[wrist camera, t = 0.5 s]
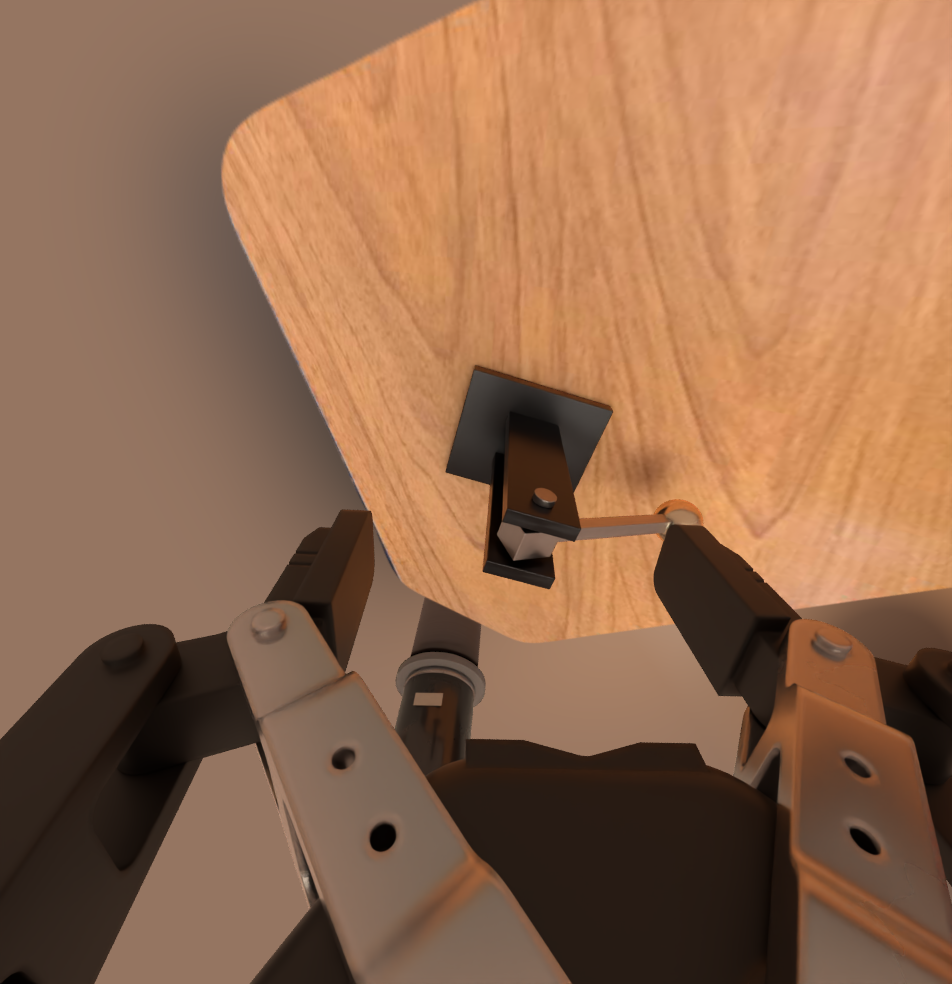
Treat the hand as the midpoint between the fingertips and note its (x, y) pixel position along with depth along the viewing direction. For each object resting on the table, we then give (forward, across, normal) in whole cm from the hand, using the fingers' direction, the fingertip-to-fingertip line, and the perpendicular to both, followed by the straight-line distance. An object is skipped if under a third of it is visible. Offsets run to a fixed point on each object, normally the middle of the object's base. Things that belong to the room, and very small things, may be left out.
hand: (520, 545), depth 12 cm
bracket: (+27, +4, -6) cm, 28 cm away
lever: (+17, +9, -8) cm, 21 cm away
